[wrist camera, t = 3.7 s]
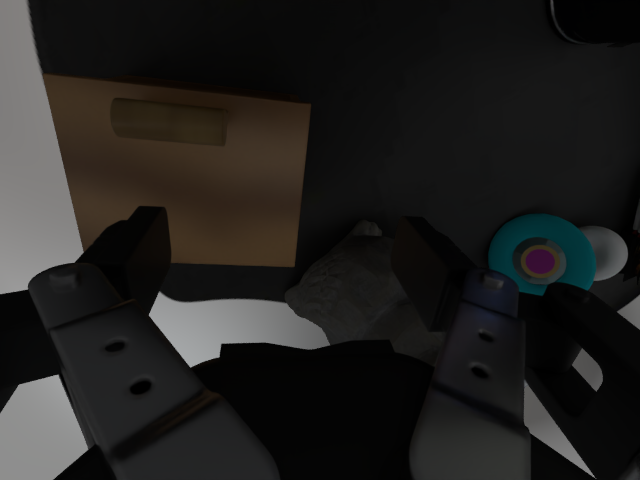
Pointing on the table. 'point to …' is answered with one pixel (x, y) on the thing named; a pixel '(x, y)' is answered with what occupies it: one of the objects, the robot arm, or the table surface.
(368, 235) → the figurine
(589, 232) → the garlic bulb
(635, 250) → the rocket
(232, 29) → the table surface
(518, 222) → the ornament
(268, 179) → the lid
